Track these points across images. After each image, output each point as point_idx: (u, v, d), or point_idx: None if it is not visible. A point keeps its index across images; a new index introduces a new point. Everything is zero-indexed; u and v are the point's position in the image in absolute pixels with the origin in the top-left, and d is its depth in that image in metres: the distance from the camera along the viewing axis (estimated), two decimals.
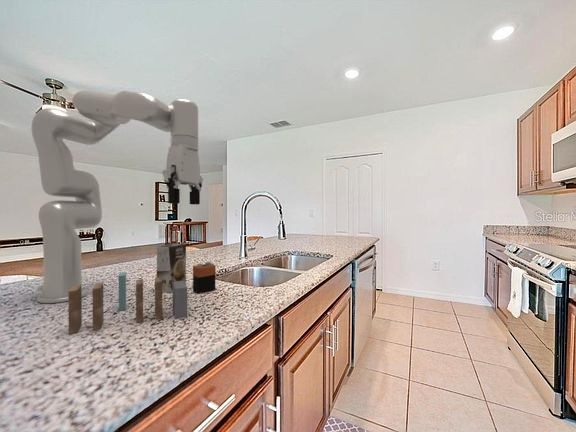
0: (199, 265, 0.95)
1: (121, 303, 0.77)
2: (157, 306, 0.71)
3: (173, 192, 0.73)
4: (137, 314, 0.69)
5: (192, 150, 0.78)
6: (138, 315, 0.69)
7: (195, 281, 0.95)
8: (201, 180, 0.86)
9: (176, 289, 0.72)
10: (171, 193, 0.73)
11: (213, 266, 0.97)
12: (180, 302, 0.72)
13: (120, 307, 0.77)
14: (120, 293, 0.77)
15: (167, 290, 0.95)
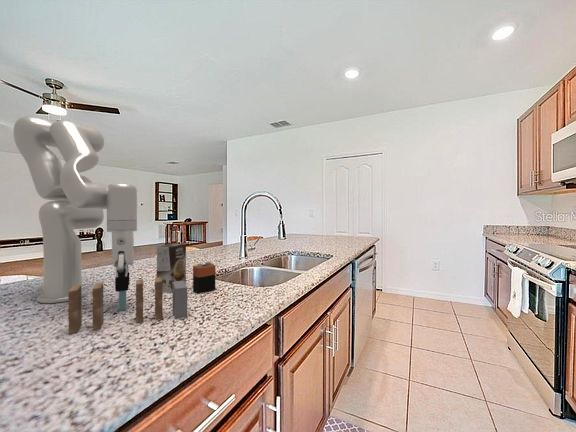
0: (199, 265, 0.95)
1: (122, 303, 0.77)
2: (157, 306, 0.71)
3: None
4: (137, 314, 0.69)
5: None
6: (138, 315, 0.69)
7: (195, 281, 0.95)
8: (118, 267, 0.74)
9: (176, 289, 0.72)
10: None
11: (213, 266, 0.97)
12: (180, 302, 0.72)
13: (120, 307, 0.77)
14: (120, 293, 0.77)
15: (167, 290, 0.95)
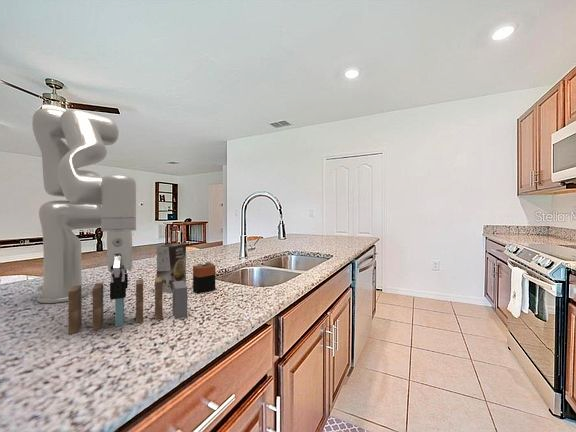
0: (199, 265, 0.95)
1: (119, 317, 0.67)
2: (157, 306, 0.71)
3: None
4: (137, 314, 0.69)
5: None
6: (138, 315, 0.69)
7: (195, 281, 0.95)
8: (113, 269, 0.62)
9: (176, 289, 0.72)
10: None
11: (213, 266, 0.97)
12: (180, 302, 0.72)
13: (117, 322, 0.67)
14: (117, 306, 0.67)
15: (167, 290, 0.95)
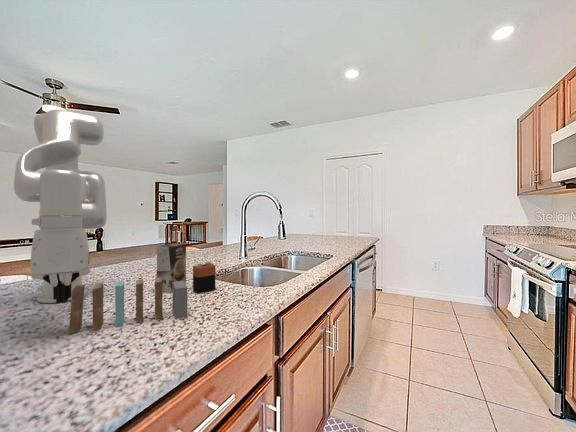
0: (199, 265, 0.95)
1: (119, 317, 0.67)
2: (157, 306, 0.71)
3: (70, 287, 0.65)
4: (137, 314, 0.69)
5: None
6: (138, 315, 0.69)
7: (195, 281, 0.95)
8: None
9: (176, 289, 0.72)
10: (70, 289, 0.64)
11: (213, 266, 0.97)
12: (180, 302, 0.72)
13: (117, 322, 0.67)
14: (117, 306, 0.67)
15: (167, 290, 0.95)
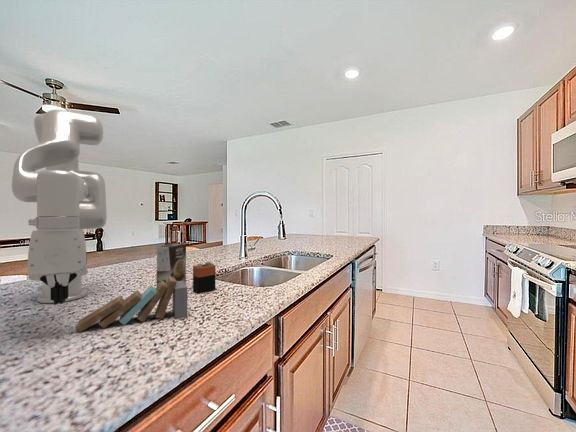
0: (199, 265, 0.95)
1: (128, 316, 0.68)
2: (162, 304, 0.72)
3: (68, 288, 0.65)
4: (144, 312, 0.70)
5: None
6: (144, 313, 0.70)
7: (195, 281, 0.95)
8: None
9: (176, 289, 0.72)
10: (67, 290, 0.64)
11: (213, 266, 0.97)
12: (180, 302, 0.72)
13: (123, 319, 0.67)
14: (136, 306, 0.69)
15: None
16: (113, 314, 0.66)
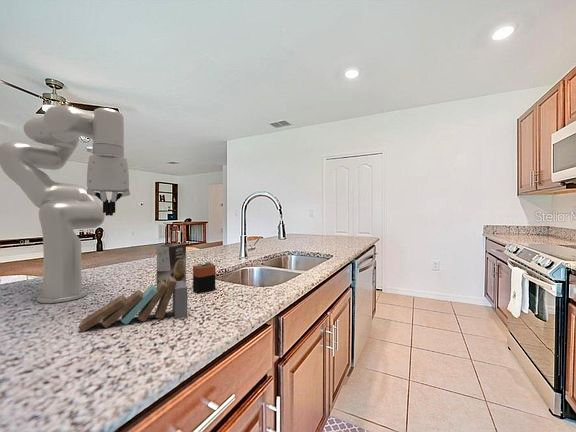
0: (199, 265, 0.95)
1: (130, 316, 0.68)
2: (162, 304, 0.72)
3: None
4: (145, 311, 0.70)
5: None
6: (145, 313, 0.70)
7: (195, 281, 0.95)
8: None
9: (176, 289, 0.72)
10: None
11: (213, 266, 0.97)
12: (180, 302, 0.72)
13: (125, 319, 0.68)
14: (138, 305, 0.69)
15: None
16: (115, 313, 0.67)
